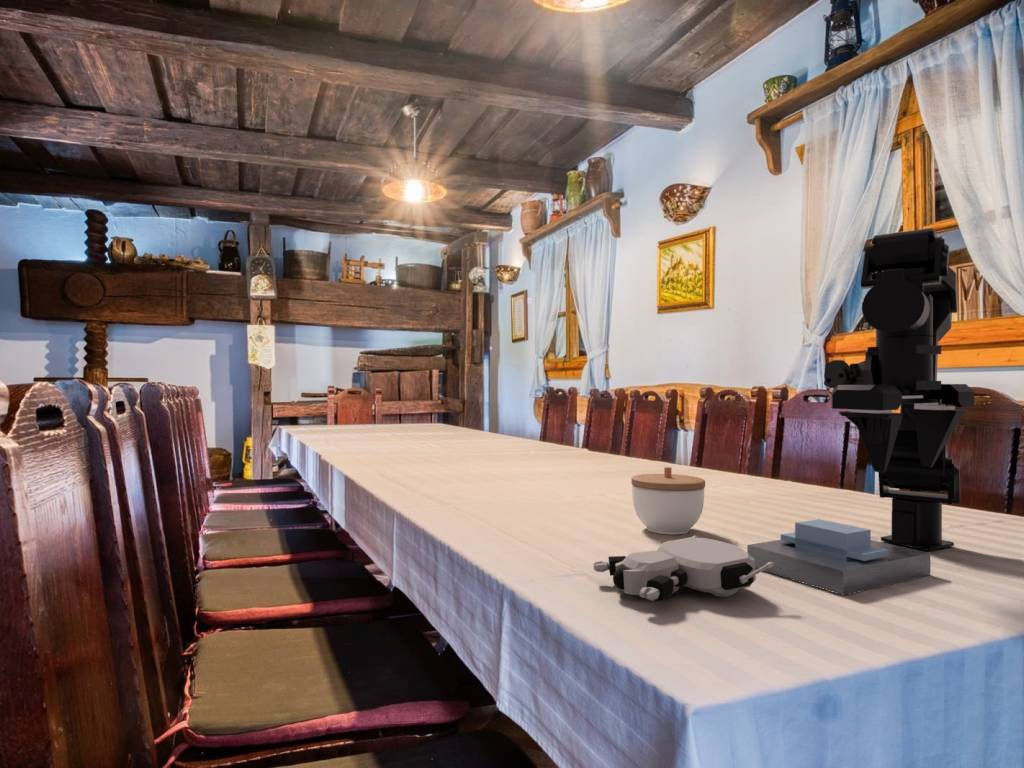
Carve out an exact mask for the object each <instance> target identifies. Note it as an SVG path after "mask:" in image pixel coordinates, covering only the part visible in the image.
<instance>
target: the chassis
mask: <svg viewBox="0 0 1024 768" xmlns="http://www.w3.org/2000/svg"><path fill="white" fill-rule="evenodd" d="M746 546H747V549H746V550H747V551H746V552H747V553H749V554H750V555H751V556H752V557H753V558H754V560H755V568H756V569H755V570H757V569H759V568H761V567H763V566H765V565H766V564H767V563H768V562H774V564H773V566H772V567H770V568H767V569H765V570H763V571H762V572H765V573H768V572H769V574H772V575H775V574H776V575H775V576H778V575H780V576H779V577H781V576H784V577H783V578H785V577H787V578H786V579H788V578H790V579H789V580H791V579H794V580H797V581H800V582H799V583H801V582H804V583H807V584H810V585H814V586H818V587H821V588H824V589H827V590H830V591H834V592H837V593H839V594H843V595H844V594H848V595H850V594H849V593H852V594H855V593H854V592H856V593H859V592H858V591H861V592H863V591H862V590H865V591H868V590H867V589H869V590H873V589H877V588H881V586H882V587H885V585H886V586H889V584H890V585H893V584H894V585H895V584H897V583H902V582H901V581H903V582H906V581H905V580H907V581H911V580H914V578H915V579H920V578H924V577H928V576H931V552H928V551H925V550H924V551H923V550H920V549H916V548H914V549H913V548H911V547H906V546H902V545H901V546H900V545H897V544H893V543H888V542H883V541H877V540H873V539H871V546H874V547H878V548H883V549H887V550H888V556H887V557H882V558H877V559H872V560H867V561H862V560H857V561H852V562H847V561H843V560H839V559H835V558H831V557H828V556H824V555H820V554H816V553H812V552H808V551H804V550H800V549H796V548H795V544H794V543H790V542H786V541H782V540H781V539H777V540H771V541H765V542H764V541H763V542H758V543H752V544H751V543H749V544H747V545H746ZM910 579H911V580H910ZM794 580H793V581H794ZM797 581H796V582H797ZM804 583H803V584H804ZM807 584H806V585H807ZM810 585H809V586H810ZM814 586H813V587H814ZM876 587H877V588H876ZM872 588H873V589H872ZM830 591H829V592H830ZM839 594H838V595H839ZM843 595H842V596H843ZM844 596H845V595H844Z"/></svg>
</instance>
